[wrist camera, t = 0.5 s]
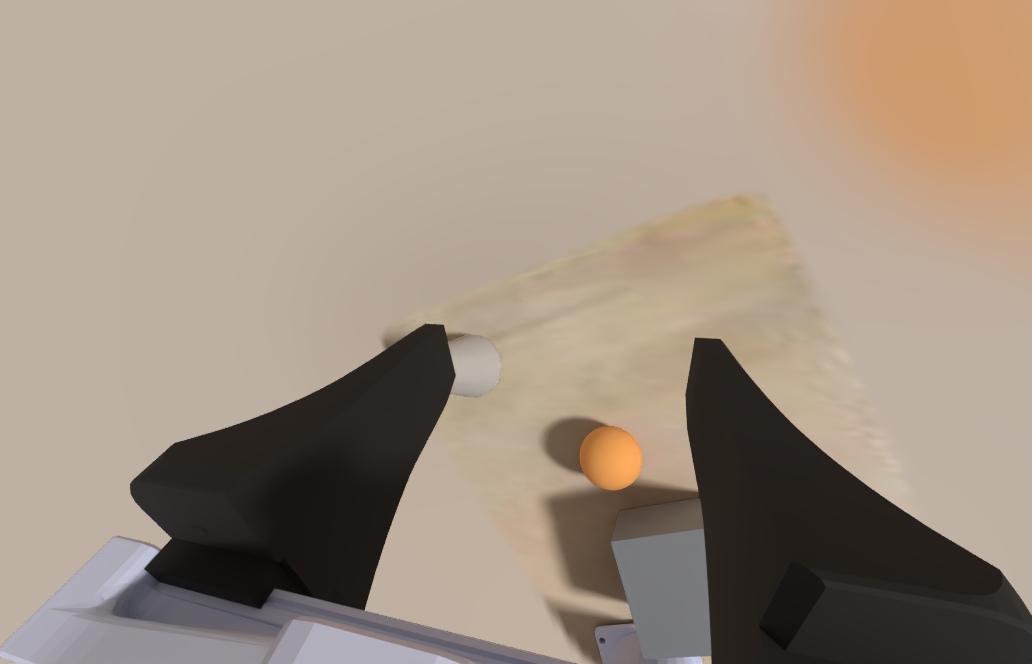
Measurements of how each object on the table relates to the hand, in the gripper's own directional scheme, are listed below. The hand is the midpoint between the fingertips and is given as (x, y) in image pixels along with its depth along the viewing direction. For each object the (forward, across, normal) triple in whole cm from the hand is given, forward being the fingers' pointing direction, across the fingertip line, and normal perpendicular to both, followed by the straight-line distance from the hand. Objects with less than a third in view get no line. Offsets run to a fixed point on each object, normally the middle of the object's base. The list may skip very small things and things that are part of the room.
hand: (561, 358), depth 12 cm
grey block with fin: (+11, -10, +27) cm, 31 cm away
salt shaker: (+20, +12, +18) cm, 30 cm away
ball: (+14, -1, +21) cm, 25 cm away
